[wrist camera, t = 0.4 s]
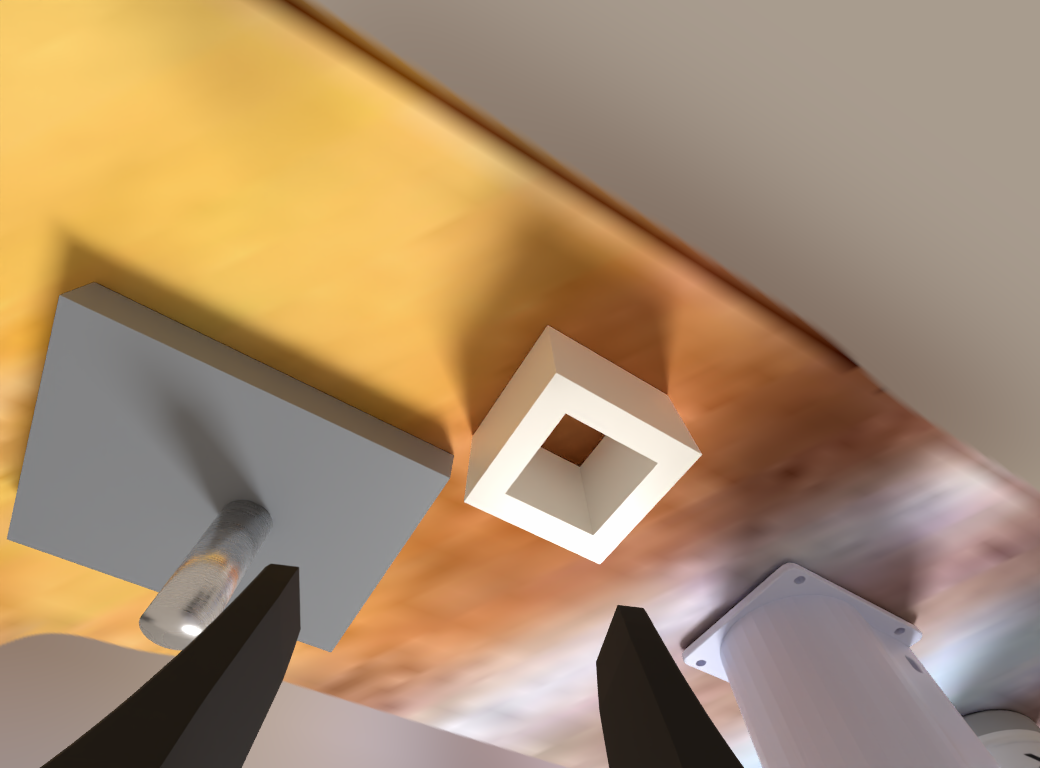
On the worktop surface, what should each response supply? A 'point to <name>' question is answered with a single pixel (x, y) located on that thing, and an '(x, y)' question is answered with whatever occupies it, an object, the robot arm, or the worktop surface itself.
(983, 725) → the travel mug
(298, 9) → the worktop surface
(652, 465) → the collar
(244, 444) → the shaft board
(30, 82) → the worktop surface
